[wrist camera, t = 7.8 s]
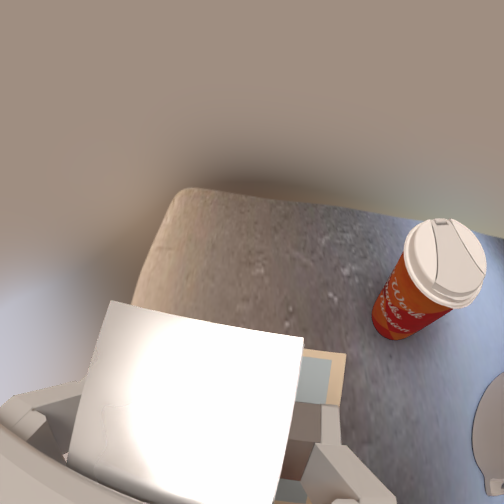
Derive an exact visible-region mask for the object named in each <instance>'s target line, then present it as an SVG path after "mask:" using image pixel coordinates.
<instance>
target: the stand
mask: <svg viewBox="0 0 504 504" xmlns="http://www.w3.org/2000/svg"><path fill="white" fill-rule="evenodd" d="M345 361H346V354H342V353H333V352H325V351H317V350H310V349H303V355H302V362H301V368H300V374H299V380H298V386H297V392H296V398H295V401H299V402H308V403H317V404H332V405H338V406H339V407H340V400H341V393H342V385H343V378H344V370H345ZM274 504H312V502H311V501H310V499H309V497H308V496H307V494H306V492H305V490H304V489H303V487H302V485H301V483H300V481H294V480H287V479H280V478H279V482H278V487H277V491H276V495H275V500H274Z"/></svg>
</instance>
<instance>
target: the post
mask: <svg viewBox="0 0 504 504" xmlns="http://www.w3.org/2000/svg"><path fill="white" fill-rule="evenodd" d="M303 349H304V344H303V338H301V337H294V336H287V335H280V334H274V333H267V332H261V331H255V330H249V329H244V328H238V327H232V326H227V325H221V324H216V323H211V322H206V321H201V320H196V319H191V318H186V317H181V316H177V315H172V314H167V313H163V312H158V311H154V310H149V309H145V308H141V307H137V306H133V305H128V304H124V303H120V302H116V301H112V300H111V302H110V305H109V307H108V310H107V313H106V316H105V319H104V322H103V325H102V328H101V331H100V334H99V337H98V340H97V343H96V346H95V350H94V353H93V356H92V359H91V363H90V366H89V370H88V373H87V377H86V380H85V384H84V388H83V391H82V395H81V399H80V403H79V407H78V411H77V415H76V420H75V424H74V428H73V433H72V437H71V442H70V447H69V452H68V457H67V463H66V467H68V468H70V469H72V470H74V471H75V472H77V473H79V474H81V475H83V476H85V477H87V478H89V479H91V480H93V481H95V482H97V483H99V484H102V485H104V486H106V487H108V488H110V489H113V490H115V491H117V492H120V493H122V494H124V495H127V496H129V497H132V498H134V499H137V500H139V501H142V502H145V503H147V504H274V500H275V495H276V491H277V487H278V482H279V478H280V473H281V469H282V464H283V460H284V455H285V450H286V445H287V440H288V435H289V430H290V425H291V420H292V414H293V409H294V403H295V398H296V392H297V386H298V380H299V374H300V368H301V362H302V355H303Z"/></svg>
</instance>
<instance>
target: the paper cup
mask: <svg viewBox="0 0 504 504" xmlns="http://www.w3.org/2000/svg"><path fill="white" fill-rule="evenodd" d="M485 275H486V258H485V254H484V251H483V248H482V246H481V244H480V242H479V241H478V239H477V238H476V236H475V235H474V234H473V233H472V232H471V231H470V230H469V229H468V228H467V227H466V226H464V225H463V224H461V223H460V222H458V221H456V220H453V219H449V220H446V219H443V218H441V219H434V220H429V219H428V220H427V221H425V222H423V223H420V224H418V225H416V226H415V227H414V228H413V229H412V230H411V231H410V232H409V234H408V236H407V238H406V240H405V244H404V251H403V253H402V255H401V257H400V259H399V261H398V263H397V264H396V266H395V268H394V270H393V272H392V273H391V275H390V277H389V279H388V281H387V282H386V284H385V286H384V288H383V289H382V291H381V293H380V295H379V296H378V298H377V300H376V302H375V304H374V306H373V310H372V321H373V324H374V326H375V328H376V330H377V331H378V332H379V333H380V334H381V335H382V336H384V337H385V338H388V339H391V340H400V339H404V338H406V337H408V336H410V335H412V334H414V333H416V332H417V331H419V330H421V329H422V328H424V327H426V326H427V325H429V324H431V323H432V322H434V321H436V320H437V319H439V318H440V317H442V316H444V315H445V314H447V313H448V312H450V311H451V310H453V309H460V308H463V307H466V306H468V305H470V304H471V303H472V302H473V300H474V299H475V298H476V296H477V295H478V294H479V292H480V290H481V287H482V284H483V279H484V278H485Z"/></svg>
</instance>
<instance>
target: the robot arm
mask: <svg viewBox="0 0 504 504" xmlns="http://www.w3.org/2000/svg"><path fill="white" fill-rule="evenodd" d="M86 377H87V375H86V376H85V377H84V378H83V379H82V380H81V381H80V382H77V381H72V382H69V383H65V384H61V385H57V386H53V387H49V388H44V389H41V390H36V391H32V392H28V393H23V394H18V395H14V396H13V397H11V398H10V399H9V400H8V401H7V402H6V403H4V404H3V405H2V406H1V407H0V504H147V503H145V502H142V501H139V500H137V499H134V498H132V497H129V496H127V495H124V494H122V493H120V492H117V491H115V490H113V489H110V488H108V487H106V486H104V485H102V484H99V483H97V482H95V481H93V480H91V479H89V478H87V477H85V476H83V475H81V474H79V473H77V472H75V471H74V470H72V469H70V468H68V467H66V461H65V459H64V457H63V454H65V453H67V452H69V447H70V442H71V437H72V433H73V428H74V424H75V420H76V415H77V411H78V407H79V403H80V399H81V395H82V391H83V388H84V384H85V380H86ZM473 451H474V456H475V459H476V462H477V464H478V466H479V468H480V469H481V471H482V473H483V475H484V477H485V488H486V493H487V495H488V496H498V495H502V494H504V372H503V373H501V374H500V375H499V376H497V377H496V378H495V379H494V380H493V381H492V383H491V384H490V385H489V386H488V388H487V389H486V391H485V393H484V395H483V397H482V399H481V401H480V403H479V406H478V409H477V412H476V416H475V420H474V426H473ZM280 479H287V480H294V481H300V483H301V485H302V487H303V489H304V490H305V492H306V494H307V496H308V497H309V499H310V501H311V502H312V504H397V502H396V497H395V496H394V495H393V494H392V493H391V492H390V491H389V490H388V489H387V488H386V487H385V486H384V485H383V484H382V483H381V481H380V480H379V479H378V478H377V477H376V476H375V475H374V474H373V473H372V472H371V471H370V470H369V469H368V468H367V467H366V466H365V465H364V464H363V463H362V462H361V460H360V459H359V458H358V457H357V456H356V455H355V454H354V453H353V452H352V451H351V450H350V449H349V448H348V446H347V445H341V429H340V414H339V406H338V405H332V404H317V403H308V402H299V401H295V403H294V409H293V414H292V420H291V425H290V430H289V435H288V440H287V445H286V450H285V455H284V460H283V464H282V469H281V473H280ZM502 484H503V485H502ZM501 486H502V487H501Z"/></svg>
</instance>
